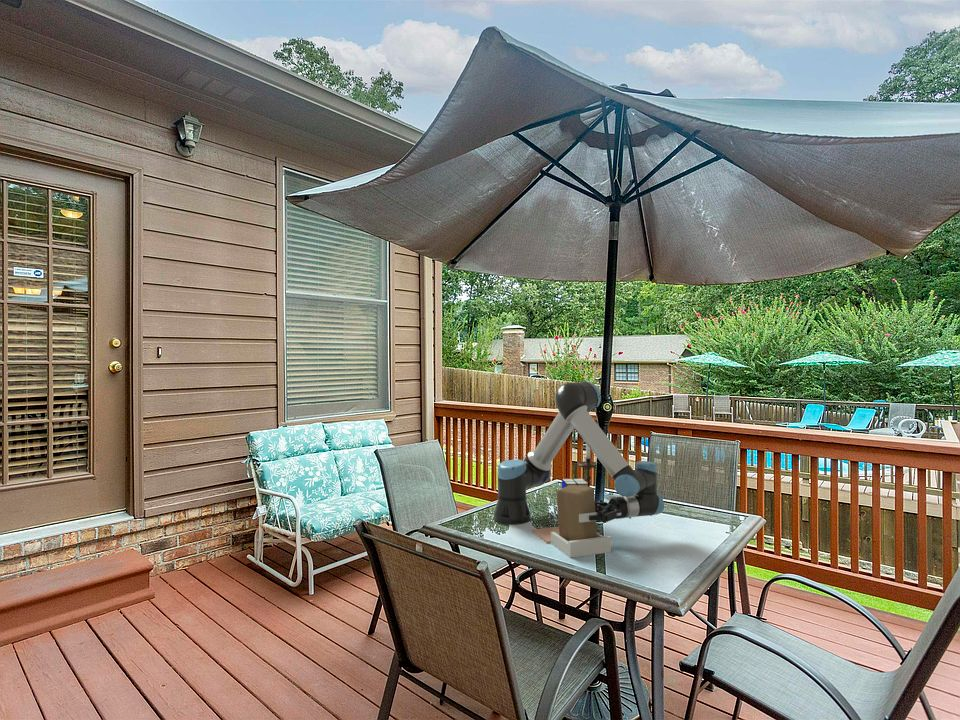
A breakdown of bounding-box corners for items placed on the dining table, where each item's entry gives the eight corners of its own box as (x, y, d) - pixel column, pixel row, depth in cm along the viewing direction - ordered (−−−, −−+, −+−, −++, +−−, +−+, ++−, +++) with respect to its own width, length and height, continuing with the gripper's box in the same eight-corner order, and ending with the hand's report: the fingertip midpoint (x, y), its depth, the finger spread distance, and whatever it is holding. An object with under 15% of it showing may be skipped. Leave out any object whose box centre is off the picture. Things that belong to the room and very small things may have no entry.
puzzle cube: (561, 500, 246) (561, 478, 246) (583, 499, 247) (582, 478, 247) (566, 506, 236) (566, 484, 236) (588, 505, 237) (588, 483, 237)
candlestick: (583, 496, 253) (583, 423, 253) (573, 491, 263) (572, 420, 263) (603, 494, 256) (603, 422, 256) (593, 489, 266) (592, 419, 266)
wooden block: (574, 538, 193) (570, 483, 192) (598, 543, 186) (595, 487, 186) (558, 546, 185) (555, 490, 185) (583, 552, 179) (580, 493, 178)
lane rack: (610, 552, 180) (610, 537, 180) (570, 557, 175) (570, 542, 175) (589, 538, 194) (589, 524, 194) (551, 543, 189) (550, 529, 189)
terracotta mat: (547, 543, 189) (547, 541, 189) (531, 531, 202) (531, 529, 202) (591, 537, 195) (591, 535, 195) (573, 526, 208) (573, 524, 208)
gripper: (643, 528, 179) (587, 534, 173) (604, 508, 203) (554, 513, 197) (643, 506, 179) (587, 511, 173) (604, 488, 203) (554, 493, 197)
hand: (569, 512), depth 185 cm, fingers open, 13 cm apart
